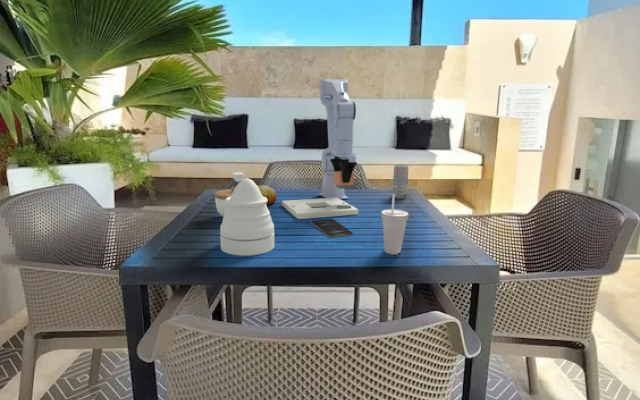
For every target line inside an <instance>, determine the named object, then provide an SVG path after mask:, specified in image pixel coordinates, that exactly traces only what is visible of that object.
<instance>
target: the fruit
mask: <svg viewBox="0 0 640 400" xmlns="http://www.w3.org/2000/svg"><path fill="white" fill-rule="evenodd" d="M256 185H257V184H256ZM257 187H258V188H259V190H260V192H261V194H262V196H264V197H266V198H267V200H268V201H267V203H266V205H267V206H270V205H274V204H275V203H276V201H277V199H278V196H277V192H276V191H275V189H274V188H272V187H270V186H269V185H257Z"/></svg>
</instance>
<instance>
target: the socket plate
mask: <svg viewBox="0 0 640 400" xmlns="http://www.w3.org/2000/svg"><path fill="white" fill-rule="evenodd" d="M281 206H282V207H283V208H284V209H286V210H287V211H288V212H289V214H291V215H292V216H294V217H295V218H296V219H297V220H304V219H316V218H318V219H319V218H328V217H331V218H332V217H340V216H341V217H342V216H343V217H344V216H355V215H356V216H357V215H359V211H360V210H359V209H358V208H357V207H355V206H353V205H352V204H350V203H347V202H346V201H344V200H343V199H339V198H337V197H336V198H325V197H322V198H307V199H306V198H305V199H304V198H303V199H292V200H290V199H289V200H282V201H281ZM324 206H325V207H324Z"/></svg>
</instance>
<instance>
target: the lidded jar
mask: <svg viewBox="0 0 640 400" xmlns="http://www.w3.org/2000/svg"><path fill="white" fill-rule="evenodd" d="M235 187H236V186H230V188H228V189H227V188H225V189H221V190H217V191H215V192H214V198H215V207H216V210H217V212H218V214H220V216H221V217H223V218H224V212H225V211H226V209H227V206H228V205H227V204H226V203H225V199H226V198H228V197H230V196H231V195H232V193H233V191H234V189H235ZM223 218H222V219H223Z"/></svg>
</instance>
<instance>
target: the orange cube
mask: <svg viewBox="0 0 640 400" xmlns="http://www.w3.org/2000/svg"><path fill="white" fill-rule="evenodd" d="M354 177H355V172H354V171H353V172H352V175H351V179H350V182H349V183H343V181H342V171H334V182H333V183H335V184H336V187H338V188H340V189H344V190H345V189H352V186H354V180H355V178H354Z"/></svg>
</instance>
